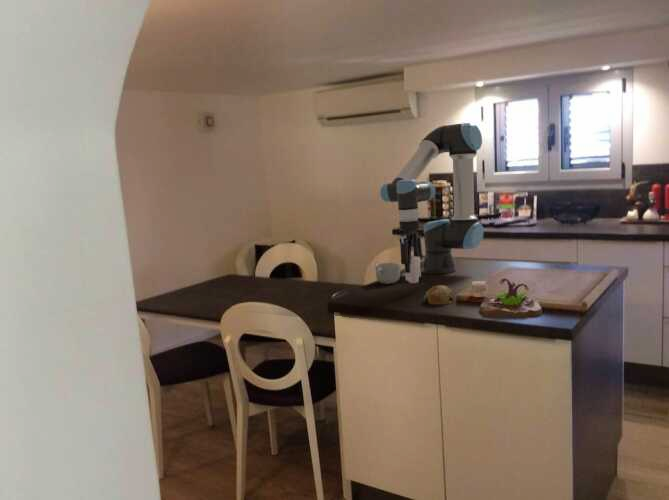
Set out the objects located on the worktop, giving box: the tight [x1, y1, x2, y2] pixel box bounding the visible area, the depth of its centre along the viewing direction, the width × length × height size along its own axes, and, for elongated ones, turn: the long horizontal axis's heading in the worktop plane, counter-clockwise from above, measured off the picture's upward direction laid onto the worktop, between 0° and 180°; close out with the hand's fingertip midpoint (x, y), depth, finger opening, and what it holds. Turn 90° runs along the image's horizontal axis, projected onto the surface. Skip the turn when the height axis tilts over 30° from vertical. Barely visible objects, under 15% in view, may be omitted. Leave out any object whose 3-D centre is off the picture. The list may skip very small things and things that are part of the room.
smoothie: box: [408, 247, 421, 284], centre depth 235 cm, size 6×6×14 cm
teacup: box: [374, 262, 401, 285], centre depth 258 cm, size 14×11×8 cm
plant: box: [479, 278, 543, 319], centre depth 200 cm, size 20×20×11 cm
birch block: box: [470, 280, 488, 292], centre depth 223 cm, size 5×5×5 cm
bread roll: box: [423, 284, 455, 306], centre depth 219 cm, size 10×10×8 cm
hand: (413, 278), depth 235 cm, fingers closed on smoothie, 6 cm apart
